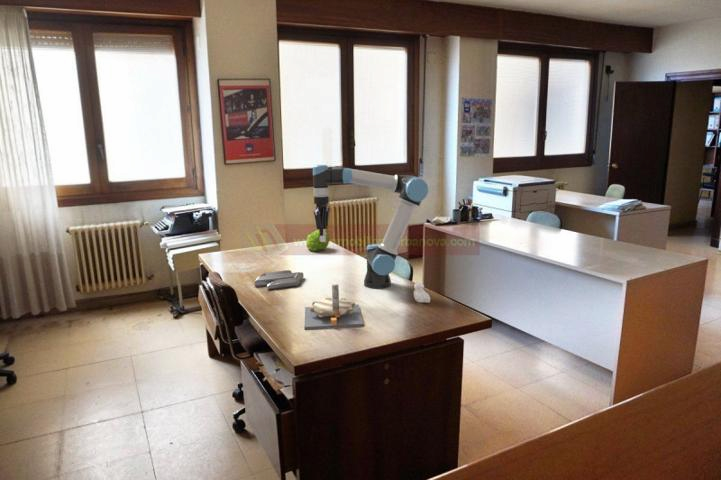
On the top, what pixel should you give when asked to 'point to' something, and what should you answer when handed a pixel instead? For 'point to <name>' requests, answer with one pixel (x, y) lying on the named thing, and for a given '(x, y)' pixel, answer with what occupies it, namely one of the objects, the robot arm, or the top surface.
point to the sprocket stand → (333, 320)
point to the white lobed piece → (332, 305)
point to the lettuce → (316, 241)
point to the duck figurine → (420, 293)
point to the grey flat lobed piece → (279, 279)
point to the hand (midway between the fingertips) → (322, 241)
